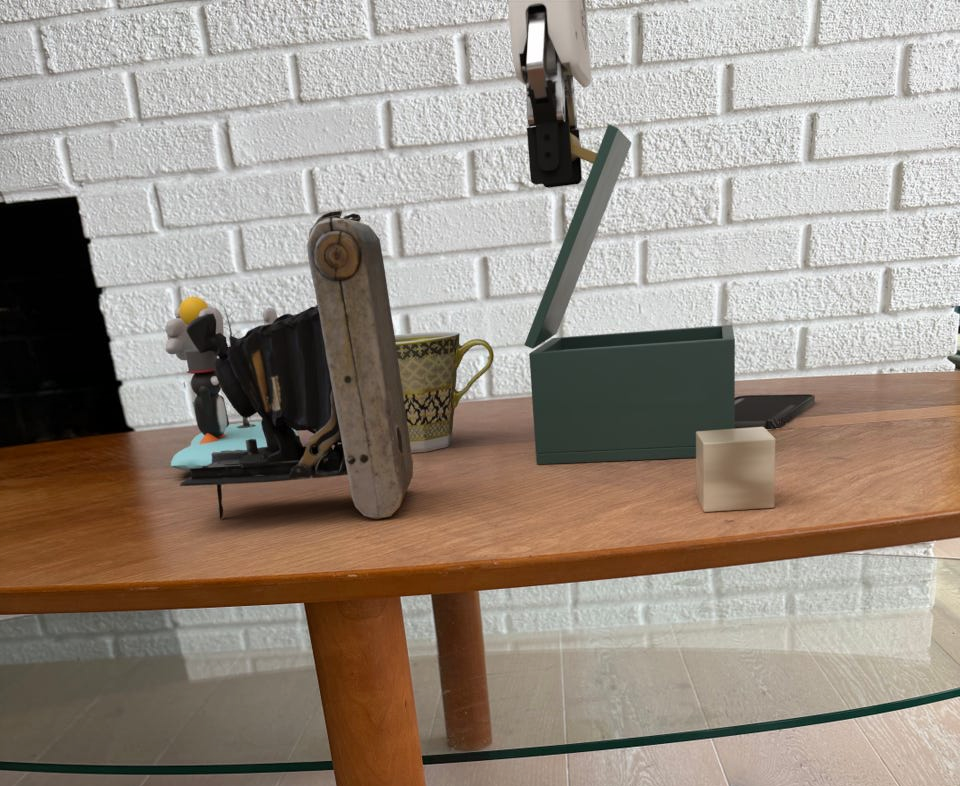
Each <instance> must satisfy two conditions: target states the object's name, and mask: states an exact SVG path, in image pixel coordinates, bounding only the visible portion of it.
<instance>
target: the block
mask: <svg viewBox="0 0 960 786" xmlns="http://www.w3.org/2000/svg"><path fill="white" fill-rule="evenodd" d="M776 443H777V439H776V437H774V436H773V434H772V433H770V431H769V430H766V429H765V428H764V427H752V428H738V429H724V430H710V431H697V432H696V458H695V479H696V480H695V481H696V482H695V485H696V487H695V488H696V490H695V491H696V493H695V494H696V495H695V496H696V498H697V501H698V502H699V504H700V506H701V508H702V510H703V511H702V512H704V513H713V512H728V511H730V512H731V511H745V510H747V511H748V510H761V509H775V503H776V501H775V499H776V491H775V490H776V448H777V447H776Z"/></svg>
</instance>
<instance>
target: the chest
mask: <svg viewBox="0 0 960 786" xmlns="http://www.w3.org/2000/svg"><path fill="white" fill-rule="evenodd" d="M528 355H529V371H530V372H529V373H530V386H531V399H532V400H531V403H532V415H533V417H532V418H533V429H534V430H533V432H534V444H535V445H534V447H535V448H534V449H535V462H536V465H538V466H539V465H559V464H583V463H604V462H607V463H608V462H626V461H627V460H631V461H653V460H675V459H676V460H677V459H696V432H697V431H710V430H724V429H735V398H736V393H735V392H736V391H735V390H736V384H735V383H736V376H735V375H736V338H735V332H734V327H733V324H725V325H711V326H696V327H684V328H670V329H669V328H668V329H656V330H641V331H629V332H615V333H613V332H612V333H600V334H586V335H575V336H574V335H572V336H559V337H558V336H557V337H551V338H550V339H548V340H547V341H545V342H544V343H542V344H541V345H539V347H536V348H534V349H533V350H532V351H531V352H529V354H528Z"/></svg>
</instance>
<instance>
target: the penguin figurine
mask: <svg viewBox="0 0 960 786" xmlns="http://www.w3.org/2000/svg"><path fill="white" fill-rule="evenodd" d="M220 303H221V306H222V307H223V310H224V313H225V317H226V319H225V318H224V316H223V314H222V313H221V311H220V310H219V309H218V308H217V307H216V306H215V307H214V306H209V305H208V303H207V302H206V301H205V300H204V299H203V298H201V297H197V296H189V297H186V298H185V299H183V300H182V301H181V303H180V305H179V306H178V307H176V308H175V309H174V311H173V312H174V316H175V317H174V318H171V319H169V320H168V321H167V322H166V323H165V327H164V328H165V333H166V336H167V341H166V343H165V352H166V353H167V354H169V355H175V356H176V357H177V359H179V360H180V361H186V364H187V369H188V370H187V371H186V373H187V374H192V377H191V379H190V387H191V390H192V391H193V393H194V394H195V395H196V396H195V398H194V400H193V401H192V406H193V410H194V415H195V420H196V425H197V427H198V430H199V432H200V433H199V434H196V435H195V436H194V438H192V440H191V442H190V445H189V446H186V447H185V448H183V449H181V450H179V451H178V452H176V453H175V454H174V456H173V457H172V459H171V462H170V466H171V468H174V469H177V470H182V471H185V472H190V469H193V468H203V466H207V465H209V464H211V463H212V453H213V452H221V451H227V450H230V451H234V450H247V447H246V440H249V439H256V442H257V448H261V447H267V443H266V438H265V435H264V433H263V430H262V425H261V421H249V420H251V419H252V416H250V417H249V418H244V417H242V422H238V423H231V424H230V421H229V415H228V411H227V407H226V403H225V402H226V401H225V397H223V396H222V395H221V394H219V393H220V391H222V389H221V386H220V384H219V381H218V379H217V377H216V374H215V371H214V364H213V363H214V361H215V360H216V359H217V358H219V357H218V356H215V354H214V351H207V352H204V353H201V354H200V352H199V351H198V349H197V348H196V347H195V345H194V343H193V342H192V340H191V339H190V337H189V335H188V333H187V327H188V325H189V324H190V323H191V321H193V320H194V319H196V318H198V317H200V316H203V315H205V314H212V313H214V316H215V319H216V334H218V333H221V334H223V335H224V336H225V334H224V333H225V332H224V331H225V330H226V331H227V330H228V331H229V337H228V339H229V338H230V337H231V336H233V337H235V335H237V333H240V330H238V331H237V332H235V334H233V333H232V328H231V327H232V322H230V320H229V317H230V316H231V315H233V314H235V312H236V310H234V311H232V312H231V313H230V314H229V315H228V313H227V311H226V306H225V305H224V304H222V302H221V301H220ZM223 305H224V306H223ZM262 318H263V325H269V324H272V323H273V322H274V321H275V320H276V319H277V318H278V313H277V311H276V309H275V308H273V307H267V308H265V309H264V310H263V311H262ZM224 321H225V323H227V324H228V327H224ZM229 343H230V342H229ZM229 346H231V343H230V344H229V345H228V347H229ZM182 385H183V388H184V390H185V391H186V389H187V388H186V382H182ZM254 415H257V413H255V414H254ZM293 430H294V429H293ZM294 432H295V434H296V436H298V431H296V430H294Z"/></svg>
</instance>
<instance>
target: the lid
mask: <svg viewBox="0 0 960 786" xmlns="http://www.w3.org/2000/svg"><path fill="white" fill-rule="evenodd" d="M570 141H571V158H572V161H574V160H576V159H577V158H581V160H583V161H586V162H588V163H590V164H592V166H591V168H590V171H589V173H588V177H587V179H586V182H585V184H584V187H583V189H582V193H581V194H580V198H579V199H578V203H577V205H576V208H575V211H574V213H573V215H572V218H571V221H570V224H569V226H568V229H567V232H566V235H565V236H564V239H563V242H562V245H561V247H560V249H559V253H558V255H557V258H556V260H555V263H554V265H553V268H552V270H551V274H550V276H549V279H548V282H547V284H546V287H545V289H544V292H543V295H542V296H541V300H540V303H539V305H538V307H537V309H536V313H535V315H534V317H533V321H532V323H531V326H530V328H529V332H528V334H527V336H526V339H525V342H524V346H525V347H528V349H529V348H530V349H532V350H535V349H536V348H538V346H541V345H542V344H544V343H546V342H547V341H549V340H550V339H552V338H553V337H555V336H556V335H557V334H558V331H559V329H560V327H561V324H562V321H563V319H564V316H565V313H566V311H567V308H568V307H569V304H570V301H571V298H572V296H573V293H574V290H575V288H576V286H577V283H578V280H579V278H580V275H581V273H582V270H583V268H584V265H585V263H586V261H587V258H588V255H589V252H590V250H591V247H592V246H593V243H594V240H595V238H596V235H597V232H598V231H599V230H598V229H599V227H600V225H601V222H602V219H603V217H604V215H605V212H606V210H607V207H608V204H609V202H610V199H611V196H612V194H613V192H614V189H615V187H616V184H617V182H618V179H619V177H620V174H621V172H622V169H623V166H624V164H625V161H626V159H627V156H628V153H629V151H630V148H631V146H632V141H631V140H630V139H629V138H628V137H627V136H626V135H625V134H624V133H623V132H622V130H620V129H619V127H617V126H615V125H612V124H607V127H606V129H605V131H604V134H603V137H602V140H601V142H600V145H599V148H598V150H597V152H595V151H592V150H590V149H588V148H585V147H583V146H582V145H581V144H582V143H581V140H580V141H579V139H578V138H577V137H576V136H574V135H573V134H571V133H570Z"/></svg>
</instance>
